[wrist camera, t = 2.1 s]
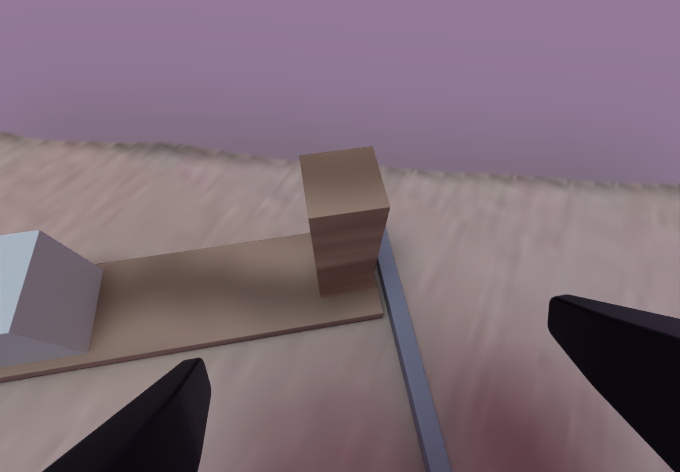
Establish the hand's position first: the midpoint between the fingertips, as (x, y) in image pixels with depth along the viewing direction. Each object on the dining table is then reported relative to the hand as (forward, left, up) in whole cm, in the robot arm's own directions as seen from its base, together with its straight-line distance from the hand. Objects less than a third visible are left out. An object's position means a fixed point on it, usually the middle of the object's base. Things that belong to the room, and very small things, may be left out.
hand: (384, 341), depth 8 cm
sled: (+11, -3, -11) cm, 16 cm away
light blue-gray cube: (+18, 0, -10) cm, 21 cm away
